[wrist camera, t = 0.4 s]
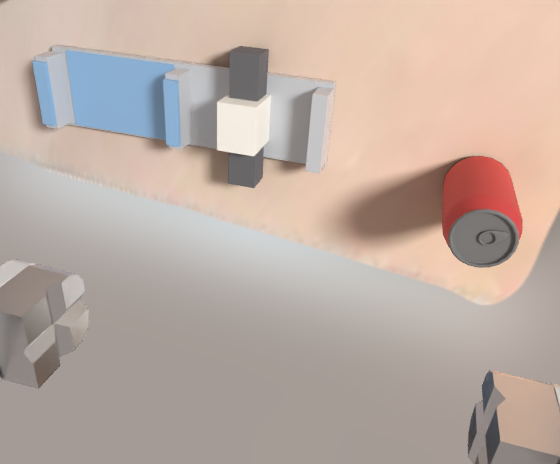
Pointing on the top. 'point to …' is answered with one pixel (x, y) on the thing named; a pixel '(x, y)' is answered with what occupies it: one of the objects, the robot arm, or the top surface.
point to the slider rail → (177, 101)
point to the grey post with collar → (245, 116)
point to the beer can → (480, 212)
